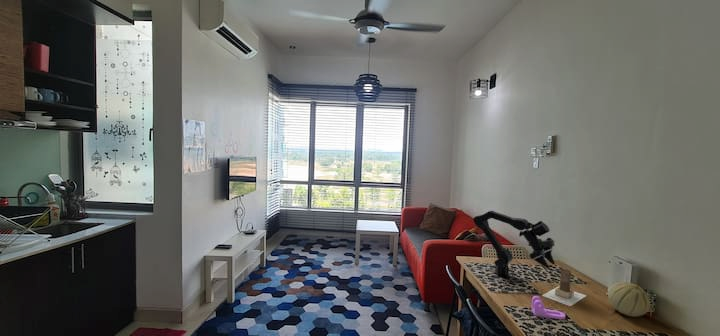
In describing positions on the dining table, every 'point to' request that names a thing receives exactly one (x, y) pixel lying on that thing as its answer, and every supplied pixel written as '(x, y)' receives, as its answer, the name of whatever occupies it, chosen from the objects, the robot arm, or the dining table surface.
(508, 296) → the dining table surface
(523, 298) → the dining table surface
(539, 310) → the bracket
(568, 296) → the brown piece
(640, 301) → the cantaloupe
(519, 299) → the dining table surface
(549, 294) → the board
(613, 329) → the dining table surface
